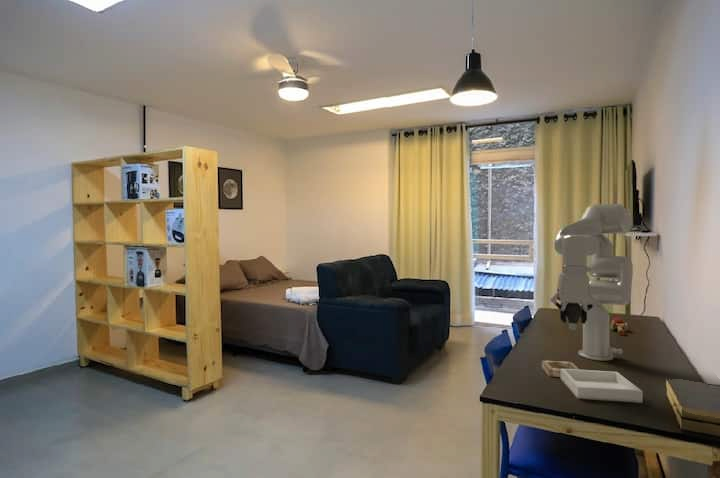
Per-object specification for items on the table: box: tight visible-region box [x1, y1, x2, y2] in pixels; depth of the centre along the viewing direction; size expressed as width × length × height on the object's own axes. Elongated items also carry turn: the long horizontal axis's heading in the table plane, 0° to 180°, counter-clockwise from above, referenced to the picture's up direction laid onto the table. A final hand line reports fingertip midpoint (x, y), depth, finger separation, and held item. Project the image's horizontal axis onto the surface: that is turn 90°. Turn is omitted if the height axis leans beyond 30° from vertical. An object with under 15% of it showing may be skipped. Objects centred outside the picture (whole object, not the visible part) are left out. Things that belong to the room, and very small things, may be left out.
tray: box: [559, 368, 644, 404], centre depth 136 cm, size 18×18×4 cm
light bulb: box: [565, 303, 582, 332], centre depth 147 cm, size 6×6×10 cm
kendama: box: [610, 317, 628, 336], centre depth 218 cm, size 8×6×18 cm
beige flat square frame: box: [541, 359, 580, 378], centre depth 153 cm, size 10×10×2 cm
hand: (573, 321), depth 147 cm, fingers closed on light bulb, 5 cm apart
